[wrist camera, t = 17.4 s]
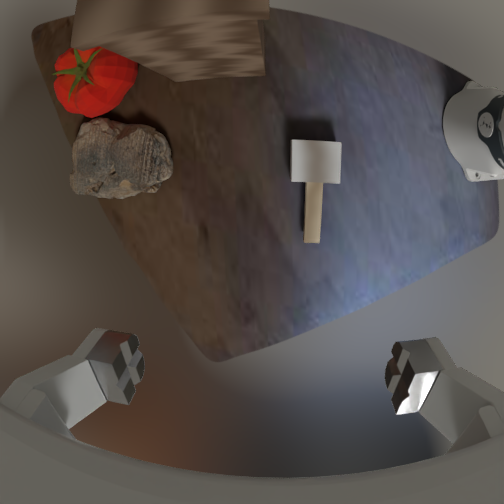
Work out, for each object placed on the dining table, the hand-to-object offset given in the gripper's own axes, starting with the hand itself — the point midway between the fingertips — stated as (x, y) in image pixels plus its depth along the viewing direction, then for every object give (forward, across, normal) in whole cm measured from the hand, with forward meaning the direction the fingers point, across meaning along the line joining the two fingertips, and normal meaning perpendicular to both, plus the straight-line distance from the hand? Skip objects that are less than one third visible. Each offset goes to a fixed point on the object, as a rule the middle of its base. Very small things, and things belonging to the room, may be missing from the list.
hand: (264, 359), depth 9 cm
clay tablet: (+40, +25, -4) cm, 47 cm away
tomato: (+39, +27, -19) cm, 51 cm away
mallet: (+39, -6, +2) cm, 40 cm away
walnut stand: (+39, +8, -19) cm, 44 cm away
